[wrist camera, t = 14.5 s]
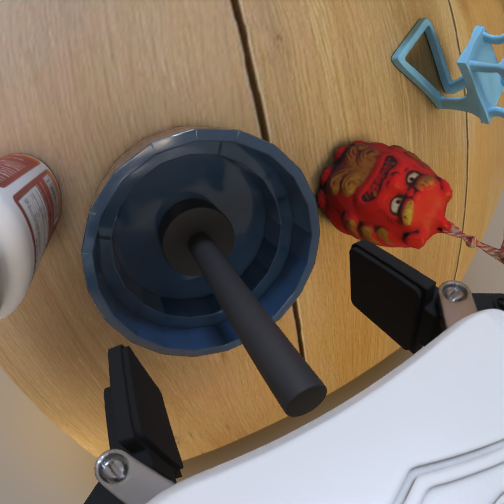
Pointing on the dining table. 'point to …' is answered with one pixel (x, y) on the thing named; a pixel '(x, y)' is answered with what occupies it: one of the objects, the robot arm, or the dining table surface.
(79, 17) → the dining table surface
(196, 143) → the bowl
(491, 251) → the red clay folk toy
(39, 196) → the pill bottle
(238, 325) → the black disc-end rod
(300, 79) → the dining table surface
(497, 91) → the chair
